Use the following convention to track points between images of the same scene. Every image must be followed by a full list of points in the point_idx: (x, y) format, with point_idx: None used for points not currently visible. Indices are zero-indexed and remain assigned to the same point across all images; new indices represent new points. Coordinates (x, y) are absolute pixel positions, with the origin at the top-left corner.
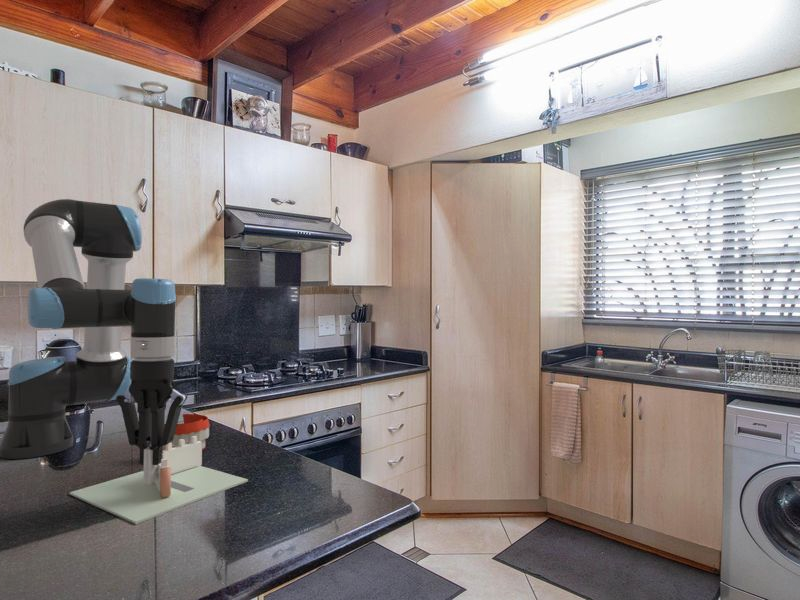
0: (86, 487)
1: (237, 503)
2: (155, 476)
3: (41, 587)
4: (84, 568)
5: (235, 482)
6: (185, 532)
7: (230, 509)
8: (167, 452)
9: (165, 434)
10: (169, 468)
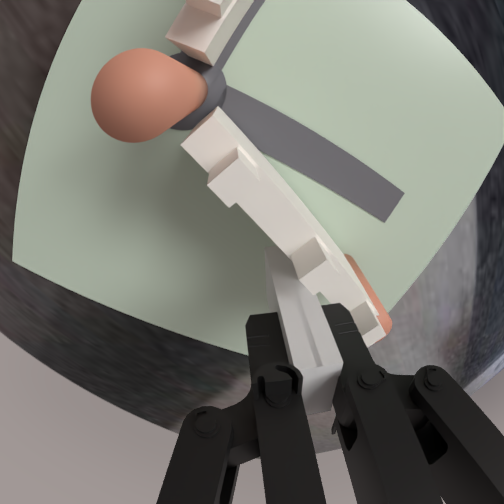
0: (15, 222)
1: (494, 261)
2: None
3: None
4: (316, 437)
5: (494, 143)
6: (418, 367)
7: (482, 288)
8: (219, 29)
9: (430, 456)
10: (387, 324)
